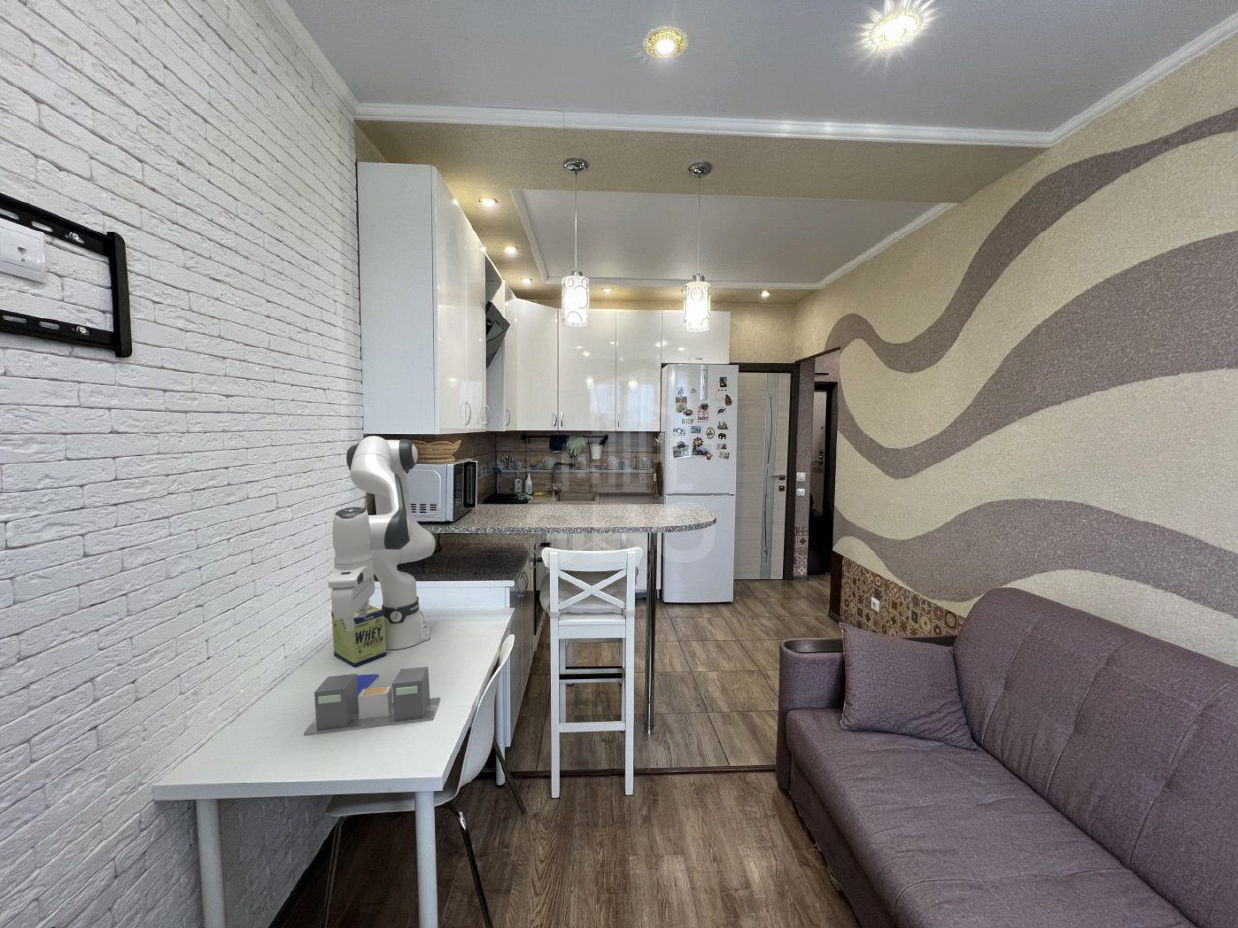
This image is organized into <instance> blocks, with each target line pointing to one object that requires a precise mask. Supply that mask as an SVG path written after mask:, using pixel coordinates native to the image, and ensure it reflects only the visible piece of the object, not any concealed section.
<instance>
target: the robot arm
mask: <svg viewBox="0 0 1238 928" xmlns="http://www.w3.org/2000/svg"><path fill="white" fill-rule="evenodd" d="M418 456H419V454H418V449H417V447H416V445H415V443H414V442H413V441H412V440H410V439H402V438H401V439H400V440H399V439H384V438H383V437H381V436H377V435H371V436H367V437H364V438H362V440H361V441H360V442H359V443H356V444H353V445H351V446H350V447H349V448H348V449H347V450H346V456H345V462H346V465H347V467H348V470H349V471H350V480H351V481H352V483H353V485H355V487H356V488H358V489H359V490H361V491H363V492H365V493H367V494H371V495H372V494H373V495H374V502H375V511H376V513H375V514H373V515H371V514H370V515H369V512H368V510H367V509H366V508H365V507H362V506H361V507H359V506H350V507H345V508H342V509H340V510H337V511H335V513H334V515H333V520H332V521H333V522H332V547H333V550H334V555H335V556H334V559H333V567H334V568H333V570H332V574H331V576H330V577H329V579H328V582H327V583H328V585H327V586H328V589H331V592H330V598H331V599H330V600H331V601H330V602H331V607H332V611H333V615H334V617H335V619H336V620H341V619H343V621H344V623H345V625H346V631H347V632H351V631H353V630H354V629H355V628H356V627H355V622H354V620H353V618H354V614H355V613H356V612H357V611H358V610H359V609H360V610H359V617H365V616H366V615H367V614H368V610H367V609H368V605H370V604H369V603H370V598H371V597H372V596H373V595H374V594H375V589H376V586H375V584H376V583H375V577H374V576H376V578H377V579H378V581H379V584H380V591H381V597H382V604H381V608H380V609H381V610H384V624H385V642H386V650H401V649H405V648H409V647H412V646H415V645H418V644H419V643H423V642H426V641H428V640H430V639H431V630H430V625H431V623H430V622H427V621H426V622H425V619H424V618H425V617H424V612H423V611H422V610H420V603H419V600H420V599H419V598H420V597H419V596H418V595H417V580H416V578H415V577H414V576H413V575H412V574H410V573H408V572H404V571H400V570H398V567H397V566H398V565H399V564H400V565H402V564H406V563H411V562H417V561H420V560H423V559H426V558H429V557H431V556H432V555H433V553H434V551H435V549H436V538H435V537H434V535H433V534H432V533H431V531H429V530H427V529H425V527H422V525H420V524H419V523H418V521H417V520H416V519H415V517H414V514H413V512H412V505H411V500H410V499H411V497H410V490H409V483H408V479H407V478H408V477H407V475H408V474H409V473H410V470H413V469H414V468H415V467H416V465H417V463H418ZM406 474H407V475H406Z"/></svg>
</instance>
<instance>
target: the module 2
mask: <svg viewBox="0 0 1238 928" xmlns="http://www.w3.org/2000/svg"><path fill="white" fill-rule="evenodd" d="M429 675H430V673H429V666H420V667H418V666H417V667H408V668H400V669H399V671H398V673H397V675H396V677H395V678H394V680H393V682H392V683H391V685H392V686H391V689H392V703H393V708H394V720H399V719H408V718H416V717H423V716H424V714H425V711H426V709H427V706H428V704H429V701H430V698H431V695H430V693H431V692H430V677H429Z"/></svg>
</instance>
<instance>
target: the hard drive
mask: <svg viewBox="0 0 1238 928" xmlns="http://www.w3.org/2000/svg"><path fill="white" fill-rule="evenodd" d="M378 679H380V674H378V673H375V674H374V673H371V674H357V688H358V696H359V694H360V693H361V691H362V690H363V689H370V687H372V686H373V684H374V683H375V682H377V680H378Z"/></svg>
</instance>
